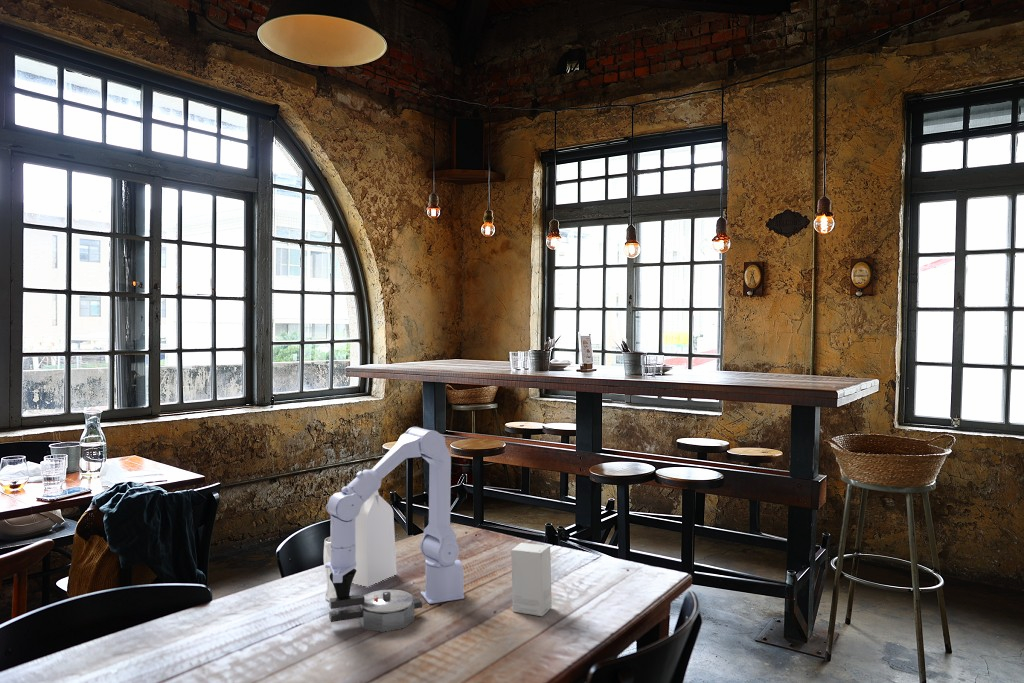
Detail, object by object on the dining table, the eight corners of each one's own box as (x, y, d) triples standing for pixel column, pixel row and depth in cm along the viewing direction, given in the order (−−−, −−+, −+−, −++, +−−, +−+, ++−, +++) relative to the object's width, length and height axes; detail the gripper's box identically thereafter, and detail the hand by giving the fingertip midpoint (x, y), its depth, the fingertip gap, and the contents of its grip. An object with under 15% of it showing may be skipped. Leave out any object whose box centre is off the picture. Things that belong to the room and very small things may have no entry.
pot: (413, 605, 176) (413, 589, 176) (427, 624, 165) (427, 607, 165) (325, 619, 167) (325, 602, 167) (334, 640, 157) (334, 622, 156)
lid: (406, 590, 175) (406, 580, 175) (419, 608, 164) (419, 598, 164) (326, 600, 168) (326, 590, 168) (334, 621, 157) (334, 610, 157)
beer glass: (344, 603, 177) (344, 543, 177) (318, 601, 179) (318, 542, 178) (356, 593, 184) (356, 535, 184) (331, 591, 186) (331, 534, 185)
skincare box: (552, 608, 175) (552, 545, 175) (542, 618, 169) (542, 553, 169) (521, 602, 179) (521, 541, 178) (510, 612, 173) (510, 548, 172)
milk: (396, 575, 198) (396, 482, 198) (367, 587, 188) (367, 490, 188) (365, 567, 205) (365, 477, 204) (335, 578, 195) (335, 484, 194)
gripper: (331, 535, 173) (331, 591, 173) (319, 555, 158) (319, 615, 158) (361, 535, 173) (361, 590, 173) (351, 554, 158) (351, 614, 159)
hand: (343, 602), depth 166 cm, fingers closed
